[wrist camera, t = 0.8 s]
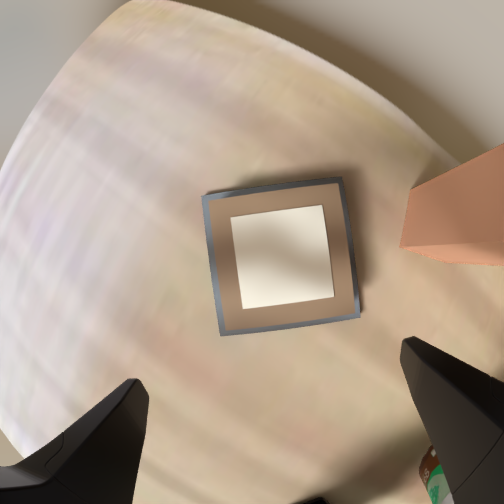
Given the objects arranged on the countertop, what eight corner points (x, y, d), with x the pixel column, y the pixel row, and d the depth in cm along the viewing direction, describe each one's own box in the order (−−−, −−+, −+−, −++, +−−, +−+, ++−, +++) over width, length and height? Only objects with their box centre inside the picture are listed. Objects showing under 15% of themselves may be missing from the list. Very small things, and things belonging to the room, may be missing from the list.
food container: (395, 456, 21) (429, 518, 12) (444, 421, 21) (492, 472, 11) (423, 500, 21) (449, 549, 11) (463, 472, 20) (497, 515, 10)
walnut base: (358, 316, 22) (370, 324, 19) (221, 334, 23) (213, 345, 20) (340, 178, 22) (349, 167, 19) (203, 197, 23) (192, 189, 20)
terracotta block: (445, 262, 21) (556, 268, 8) (399, 247, 22) (507, 240, 9) (455, 208, 21) (560, 179, 8) (410, 189, 22) (510, 139, 9)
